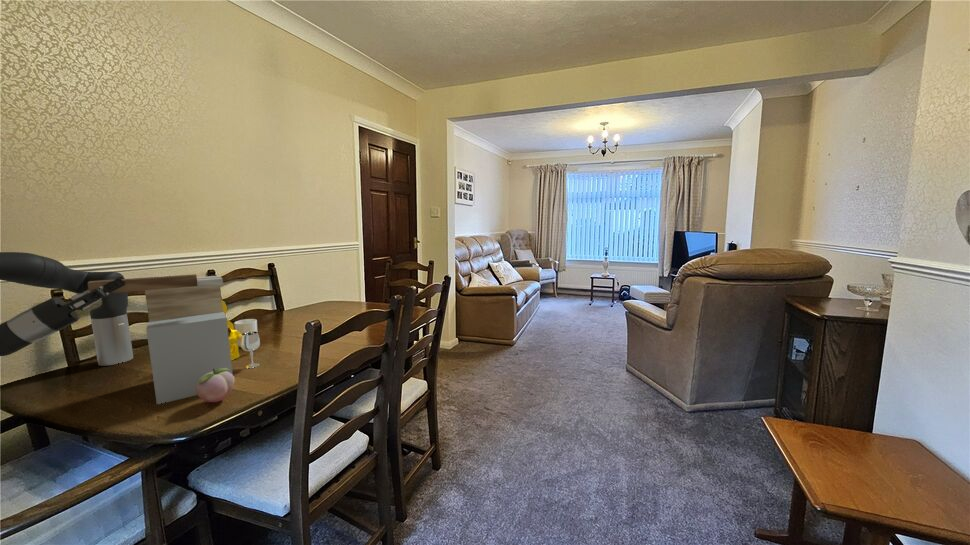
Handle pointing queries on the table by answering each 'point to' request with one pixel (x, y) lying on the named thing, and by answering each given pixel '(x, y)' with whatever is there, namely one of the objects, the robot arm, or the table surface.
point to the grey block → (186, 353)
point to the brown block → (160, 283)
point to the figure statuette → (232, 336)
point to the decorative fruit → (215, 385)
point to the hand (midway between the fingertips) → (123, 280)
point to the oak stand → (183, 302)
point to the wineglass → (250, 345)
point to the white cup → (245, 327)
